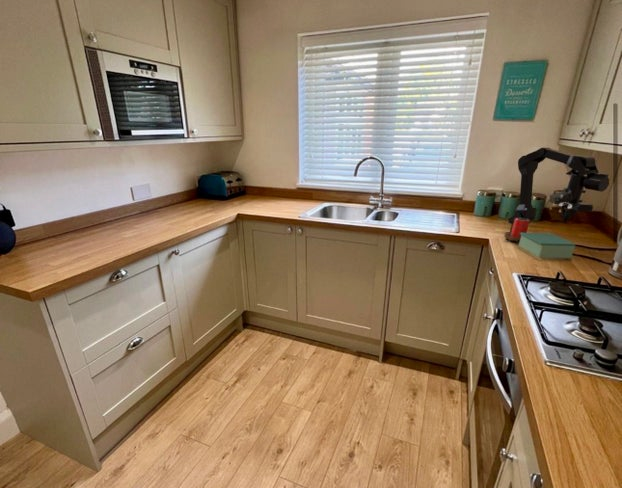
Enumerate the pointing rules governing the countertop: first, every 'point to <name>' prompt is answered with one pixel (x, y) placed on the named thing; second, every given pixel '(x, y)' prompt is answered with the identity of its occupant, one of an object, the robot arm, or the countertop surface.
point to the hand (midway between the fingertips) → (563, 222)
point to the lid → (547, 239)
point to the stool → (512, 237)
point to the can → (520, 226)
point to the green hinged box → (546, 249)
